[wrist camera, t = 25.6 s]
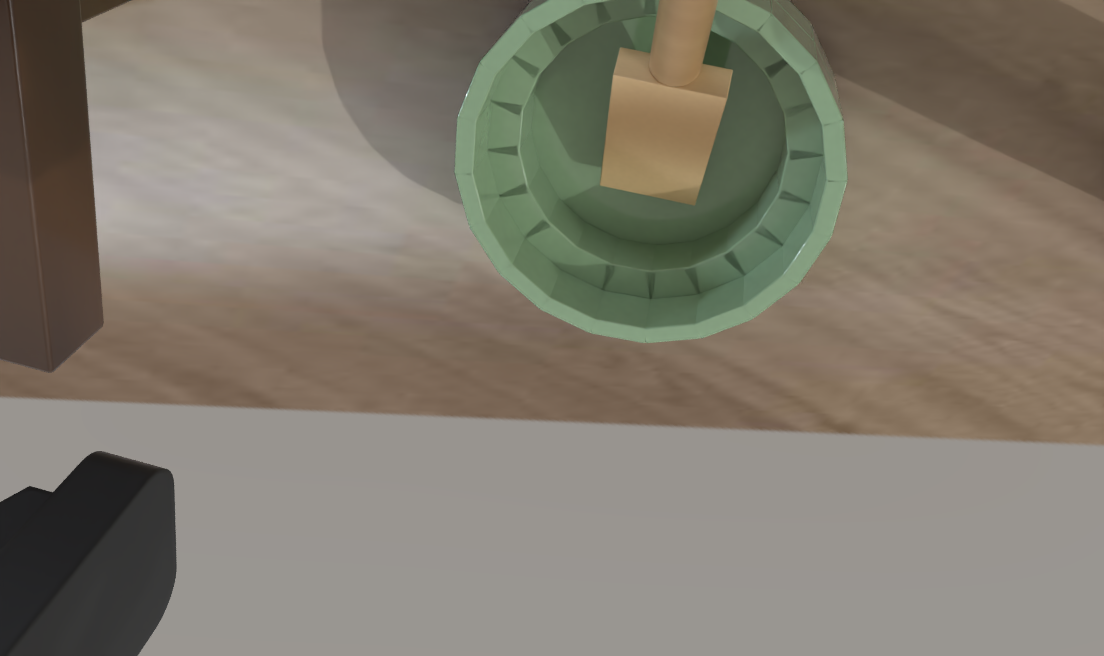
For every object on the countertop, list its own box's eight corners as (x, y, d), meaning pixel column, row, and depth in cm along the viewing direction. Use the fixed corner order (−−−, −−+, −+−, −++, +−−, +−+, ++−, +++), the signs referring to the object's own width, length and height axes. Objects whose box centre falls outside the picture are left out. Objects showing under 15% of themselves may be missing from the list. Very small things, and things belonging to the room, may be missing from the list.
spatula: (831, -246, 24) (840, -298, 25) (655, -277, 25) (670, -328, 25) (694, 206, 45) (702, 169, 45) (599, 185, 45) (608, 149, 46)
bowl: (425, 51, 45) (383, 93, 40) (744, -132, 39) (741, -109, 34) (590, 321, 51) (571, 387, 46) (890, 200, 45) (906, 261, 40)
